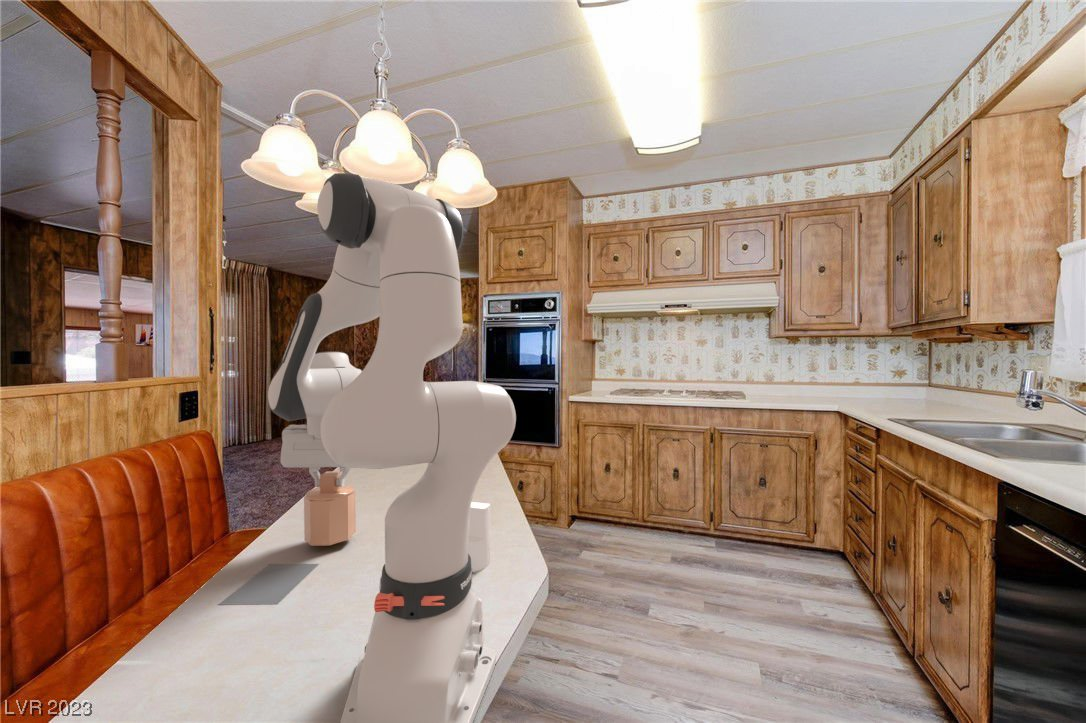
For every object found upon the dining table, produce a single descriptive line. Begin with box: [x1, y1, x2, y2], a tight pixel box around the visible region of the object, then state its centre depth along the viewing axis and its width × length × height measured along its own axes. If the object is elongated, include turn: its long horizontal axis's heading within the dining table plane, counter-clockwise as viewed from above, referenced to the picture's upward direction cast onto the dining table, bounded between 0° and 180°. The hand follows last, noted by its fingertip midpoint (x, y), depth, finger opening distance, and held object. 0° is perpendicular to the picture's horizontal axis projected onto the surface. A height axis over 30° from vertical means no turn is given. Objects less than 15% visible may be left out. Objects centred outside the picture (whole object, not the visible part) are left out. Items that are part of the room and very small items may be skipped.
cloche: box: [303, 470, 357, 547], centre depth 95 cm, size 10×10×14 cm
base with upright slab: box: [468, 501, 491, 573], centre depth 88 cm, size 9×9×12 cm
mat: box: [217, 563, 320, 606], centre depth 79 cm, size 14×10×1 cm
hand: (330, 486), depth 95 cm, fingers closed on cloche, 3 cm apart
